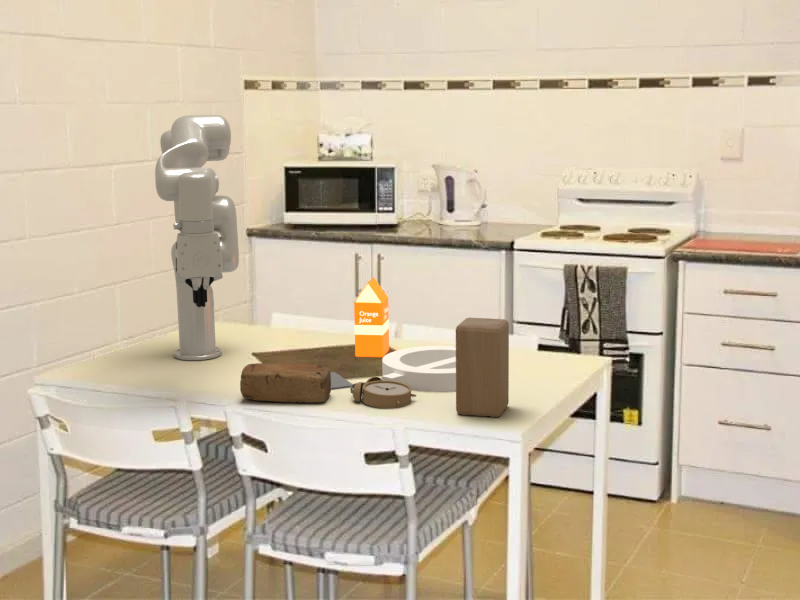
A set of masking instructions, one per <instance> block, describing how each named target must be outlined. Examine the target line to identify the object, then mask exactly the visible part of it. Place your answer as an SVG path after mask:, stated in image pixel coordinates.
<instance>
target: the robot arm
mask: <svg viewBox="0 0 800 600" xmlns="http://www.w3.org/2000/svg"><path fill="white" fill-rule="evenodd" d="M231 142H232V130H231V127H230V123H229V122H228V120H227V119H226V118H225V117H224V116H222V115H220V114H197V115H196V114H195V115H194V114H193V115H192V114H191V115H184V116H183V115H182V116H180V117H178V118H177V119H176V120H174V122H173V123H172V125H171V128H170V130H169V129H168V130H166V131H164V132H163V133H162V134H161V135H160V141H159V143H160V150H161V155H160V156H159V157H158V159H157V161H156V165H155V170H154V174H155V175H154V176H155V178H154V179H155V180H154V181H155V190H156V193H157V195H158V197H159V198H160V199H161V200H163V201H164V202H165V201H166V202H173V207H174V209H173V210H174V219H175V223H173V226H172V227H173V230H178V233H177V235H176V241H175V242H174V243H173V245H172V246H171V251H170V254H171V255H170V256H171V261H172V266H173V272H174V277H175V278H174V280H175V287H176V302H177V303H176V304H177V320H178V321H177V323H178V325H177V326H178V342H179V343H178V344H179V348H178V349H176V350H175V351H174V352H173V356H174V358H175V359H178V360H183V361H203V360H210V359H215V358H218V357H220V356H222V353H223V351H222V350H223V349H222V348H221V347H218V346H216V344H217V343H216V342H217V341H216V327H215V326H216V325H215V304H214V303H215V302H214V301H215V300H214V299H215V298H214V290H213V287H212V284H213V282H215V281H219V280H222V279H223V277H224V276H223V274H224V273H232V272H234V271H236V270H237V269H238V267H239V265H240V264H239V262H240V253H239V252H240V251H239V235H238V233H239V232H238V219H237V210H236V206H235V202H234V201H233V199H232V197H230V196H227V195H216V194H217V193H218V192H219V189H220V188H219V187H220V182H219V181H220V180H219V176H218V174H217V173H216V171H215V170H214V169H212V168H210V167H204V166H205V164H206V163H207V162H218V161H220V162H221V161H225V160H226V159H227V158H228V156H229V154H230V148H231ZM219 235H220V236H219Z"/></svg>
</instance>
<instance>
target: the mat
mask: <svg viewBox="0 0 800 600" xmlns="http://www.w3.org/2000/svg"><path fill="white" fill-rule="evenodd" d="M330 373H331V389H332V390H338V389H340V388H341V389H347V388H351V385H352V384H353V383H352V382H351V381H349V380H347V379H345V377H343V376H342V375H340V374H338V373H337V372H335V371H332V372H331V371H330Z"/></svg>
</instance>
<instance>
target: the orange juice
mask: <svg viewBox="0 0 800 600" xmlns="http://www.w3.org/2000/svg"><path fill="white" fill-rule="evenodd" d="M353 307H354V308H353V310H354V312H353V314H354V315H353V316H354V346H355V347H354V349H355V350H354V357H355V356H356V357H361V358H365V357H366V358H367V357H368V358H383V357H384V356H385V355H387V354H388V353H389V351H390V319H389V318H390V317H389V315H390V314H389V296H388V295H387V294H386V293H385V291H384V289H383V288H382V287H381V285H380V283H378V281H377V279H376V278H375V276H373V277H372V278H371V279H370V280H369V281H367V282H366V284H365V286H364V287H363V288H362V290H361V291H360V293H359V295H358V296H357V298H356V299H355V301H354V302H353Z"/></svg>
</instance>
